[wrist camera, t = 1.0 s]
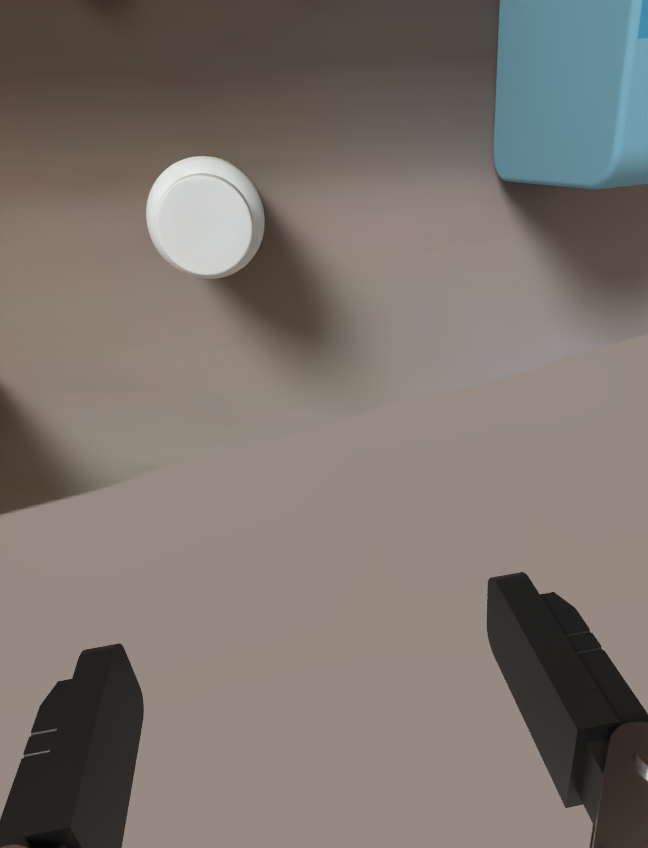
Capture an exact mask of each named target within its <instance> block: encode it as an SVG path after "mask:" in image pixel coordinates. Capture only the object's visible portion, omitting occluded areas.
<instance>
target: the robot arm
mask: <svg viewBox="0 0 648 848" xmlns="http://www.w3.org/2000/svg"><path fill="white" fill-rule="evenodd" d="M487 601H488V602H487V632H488V638H489V642H490V646H491V649H492V652H493V654H494V657H495V659H496V661H497V663H498V665H499V667H500V669H501V672H502V674H503V676H504V678H505V680H506V682H507V684H508V686H509V689H510V691H511V693H512V695H513V697H514V699H515V701H516V704H517V705H518V708H519V710H520V712H521V714H522V716H523V718H524V721H525V722H526V725H527V727H528V729H529V731H530V733H531V735H532V737H533V739H534V742H535V744H536V746H537V748H538V750H539V752H540V755H541V757H542V759H543V761H544V763H545V765H546V767H547V769H548V772H549V774H550V776H551V778H552V780H553V782H554V784H555V786H556V788H557V791H558V793H559V795H560V797H561V799H562V801H563V803H564V805H565V807H566V808H568V807H573V806H578V805H582V804H584V806H585V808H586V810H587V812H588V814H589V816H590V818H591V820H592V822H593V826H592V833H591V838H590V845H589V848H648V714H647V712H646V711H645V709H644V708H643V706H642V705H641V704H640V702H639V701H638V699H637V698H636V696H635V695H634V693H633V692H632V690H631V689H630V688H629V686H628V685H627V683H626V682H625V680H624V679H623V677H622V676H621V675H620V673H619V672H618V670H617V669H616V667H615V666H614V664H613V663H612V661H611V660H610V658H609V657H608V655H607V654H606V652H605V651H604V650H602V649H601V645H600V644H599V642H598V641H597V639H596V638H595V636H594V635H593V634H592V633H590V630H589V628H588V626H587V625H586V623H585V622H584V620H583V619H582V617H581V616H580V614H579V613H578V612H577V610H576V609H575V608H574V607H573V606H572V605H570V604H569V603H568V602H566V601H565V600H564V599H562V598H561V597H560V596H558V595H557V594H555V593H554V592H552V593H546V594H541V595H539V593H538V591H537V590H536V588H535V587H534V585H533V584H532V582H531V580H530V579H529V577H528V576H527V575H526V574H525V573H523V572H520V573H515V574H509V575H504V576H498V577H493V578H490V579H489V581H488V600H487ZM143 712H144V708H143V696H142V692H141V688H140V686H139V683H138V681H137V678H136V676H135V674H134V671H133V669H132V667H131V664H130V661H129V659H128V657H127V654H126V652H125V649H124V647H123V646H122V645H121V644H114V645H109V646H103V647H98V648H93V649H87V650H84V651H82V653H81V654H80V656H79V659H78V662H77V665H76V668H75V672H74V675H73V678H72V679H69V680H64V681H58V682H57V684H56V685H55V687H54V688H53V689H52V691H51V692H50V693H49V695H48V696H47V697H46V699H45V700H44V701H43V703H42V704H41V705H40V708H39V711H38V713H37V717H36V719H35V722H34V725H33V728H32V731H31V737H29V739H28V742H27V745H26V748H25V751H24V758H23V759H21V762H20V765H19V768H18V771H17V774H16V777H15V779H14V782H13V785H12V788H11V791H10V793H9V796H8V799H7V802H6V805H5V808H4V811H3V813H2V816H1V819H0V848H121V847H122V841H123V835H124V829H125V823H126V818H127V812H128V806H129V800H130V794H131V788H132V782H133V776H134V770H135V764H136V758H137V752H138V747H139V741H140V735H141V728H142V723H143Z"/></svg>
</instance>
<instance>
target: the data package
mask: <svg viewBox="0 0 648 848" xmlns="http://www.w3.org/2000/svg"><path fill="white" fill-rule="evenodd" d="M494 163H495V168H496V171H497V173H498V175H499V177H500V178H501V179H502V180H504V181H509V182H520V183H530V184H541V185H551V186H561V187H572V188H582V189H592V190H594V189H606V188H615V187H625V186H634V185H644V184H648V0H500V10H499V33H498V57H497V81H496V105H495V129H494Z"/></svg>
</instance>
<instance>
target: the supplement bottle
mask: <svg viewBox="0 0 648 848" xmlns="http://www.w3.org/2000/svg"><path fill="white" fill-rule="evenodd" d="M146 219H147V226H148V230H149V234H150V237H151V239H152V241H153V243H154V245H155V247H156V249H157V250H158V252H159V253H160V254H161V256H162V257H163V258H164V259H165V260H166V261H167V262H168V263H169V264H170V265H171V266H173V267H174V268H176V269H177V270H179V271H181V272H182V273H185V274H187V275H190V276H193V277H196V278H202V279H216V278H222V277H226V276H229V275H231V274H233V273H235V272H237V271H239V270H240V269H242V268H243V267H244V266H246V265H247V264H248V263H249V262H250V260H251V259H252V258H253V257H254V255H255V254H256V252H257V250H258V249H259V246H260V244H261V241H262V238H263V234H264V227H265V217H264V210H263V205H262V202H261V199H260V196H259V194H258V192H257V189H256V188H255V186H254V184H253V183H252V182H251V181H250V179H249V178H248V177H247V176H246V175H245V174H244V173H243V172H242V171H241V170H240V169H239V168H238V167H236V166H235V165H233V164H232V163H230V162H228V161H227V160H224V159H221V158H218V157H213V156H195V157H190V158H186V159H183V160H180V161H178V162H176V163H174V164H172V165H171V166H170V167H168V168H167V169H166V170H165V171H164V172H163V173H162V174H161V175H160V176H159V177H158V179H157V180H156V181H155V183H154V185H153V187H152V189H151V191H150V194H149V197H148V201H147V209H146Z"/></svg>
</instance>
